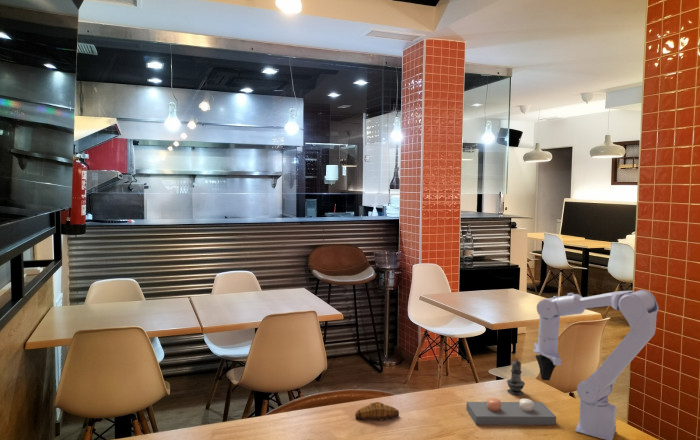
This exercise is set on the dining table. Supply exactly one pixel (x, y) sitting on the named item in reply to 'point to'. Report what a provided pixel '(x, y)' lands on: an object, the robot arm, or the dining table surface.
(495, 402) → the knob
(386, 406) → the croissant
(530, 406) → the knob
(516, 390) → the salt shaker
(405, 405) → the dining table surface
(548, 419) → the control board
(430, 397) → the dining table surface
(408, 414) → the dining table surface
